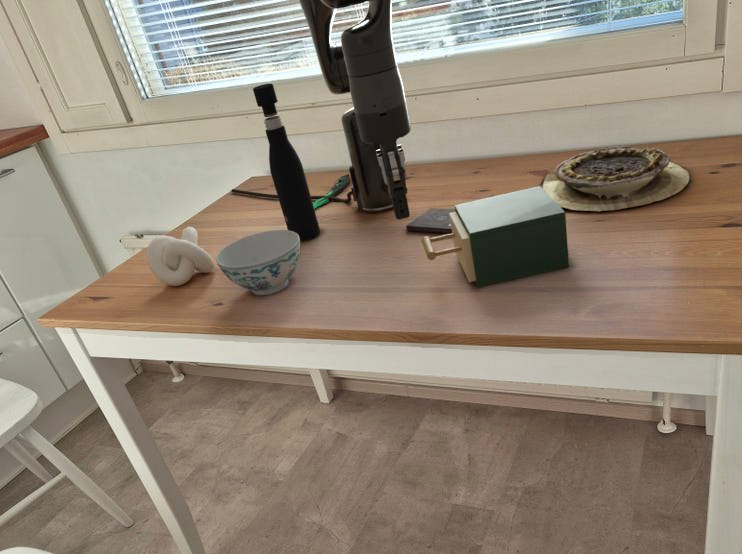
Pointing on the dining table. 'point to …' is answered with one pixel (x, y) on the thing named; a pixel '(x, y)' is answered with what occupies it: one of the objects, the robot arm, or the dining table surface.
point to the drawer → (460, 246)
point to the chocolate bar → (432, 221)
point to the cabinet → (515, 235)
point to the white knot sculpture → (178, 257)
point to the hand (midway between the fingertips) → (402, 217)
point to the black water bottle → (287, 170)
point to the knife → (334, 190)
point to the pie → (614, 179)
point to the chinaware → (261, 260)
